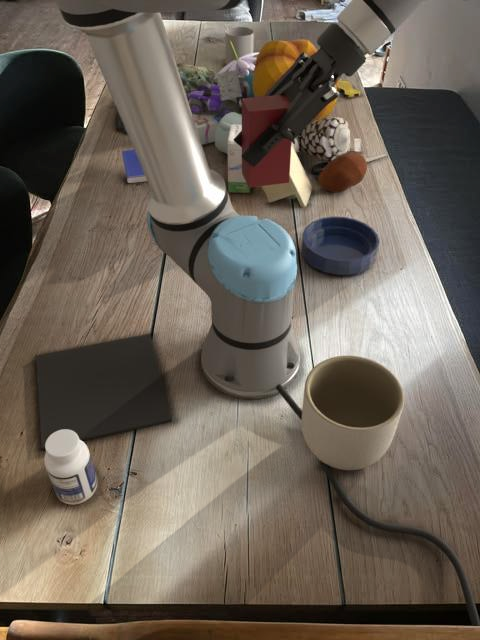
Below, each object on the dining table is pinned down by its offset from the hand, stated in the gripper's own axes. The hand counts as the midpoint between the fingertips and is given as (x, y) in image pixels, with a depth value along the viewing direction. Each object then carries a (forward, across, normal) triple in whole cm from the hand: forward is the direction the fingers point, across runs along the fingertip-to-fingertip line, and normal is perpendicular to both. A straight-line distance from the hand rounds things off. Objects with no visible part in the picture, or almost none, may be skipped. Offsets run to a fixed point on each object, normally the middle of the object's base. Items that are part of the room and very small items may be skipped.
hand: (243, 153), depth 99 cm
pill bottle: (+38, -42, +7) cm, 57 cm away
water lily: (-5, +69, -13) cm, 70 cm away
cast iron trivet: (+23, +67, -8) cm, 71 cm away
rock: (+5, +69, -10) cm, 70 cm away
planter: (+13, -43, -19) cm, 48 cm away
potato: (-5, +25, -31) cm, 40 cm away
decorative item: (-15, +71, -46) cm, 86 cm away
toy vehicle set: (-8, +38, -36) cm, 53 cm away
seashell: (-7, +38, -27) cm, 47 cm away
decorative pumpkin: (-5, +50, -26) cm, 56 cm away
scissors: (-14, +33, -45) cm, 58 cm away
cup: (+1, +94, -30) cm, 99 cm away
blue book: (+25, +33, -5) cm, 41 cm away
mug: (+8, +42, -14) cm, 45 cm away
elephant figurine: (+3, +34, -28) cm, 44 cm away
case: (+1, 0, -6) cm, 6 cm away
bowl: (+3, -2, -28) cm, 29 cm away
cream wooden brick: (+1, +23, -16) cm, 27 cm away
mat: (+35, -26, +4) cm, 44 cm away
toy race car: (+7, +54, -15) cm, 56 cm away
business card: (+1, +49, -12) cm, 51 cm away
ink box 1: (+9, +53, -18) cm, 57 cm away
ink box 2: (+12, +28, -20) cm, 36 cm away
